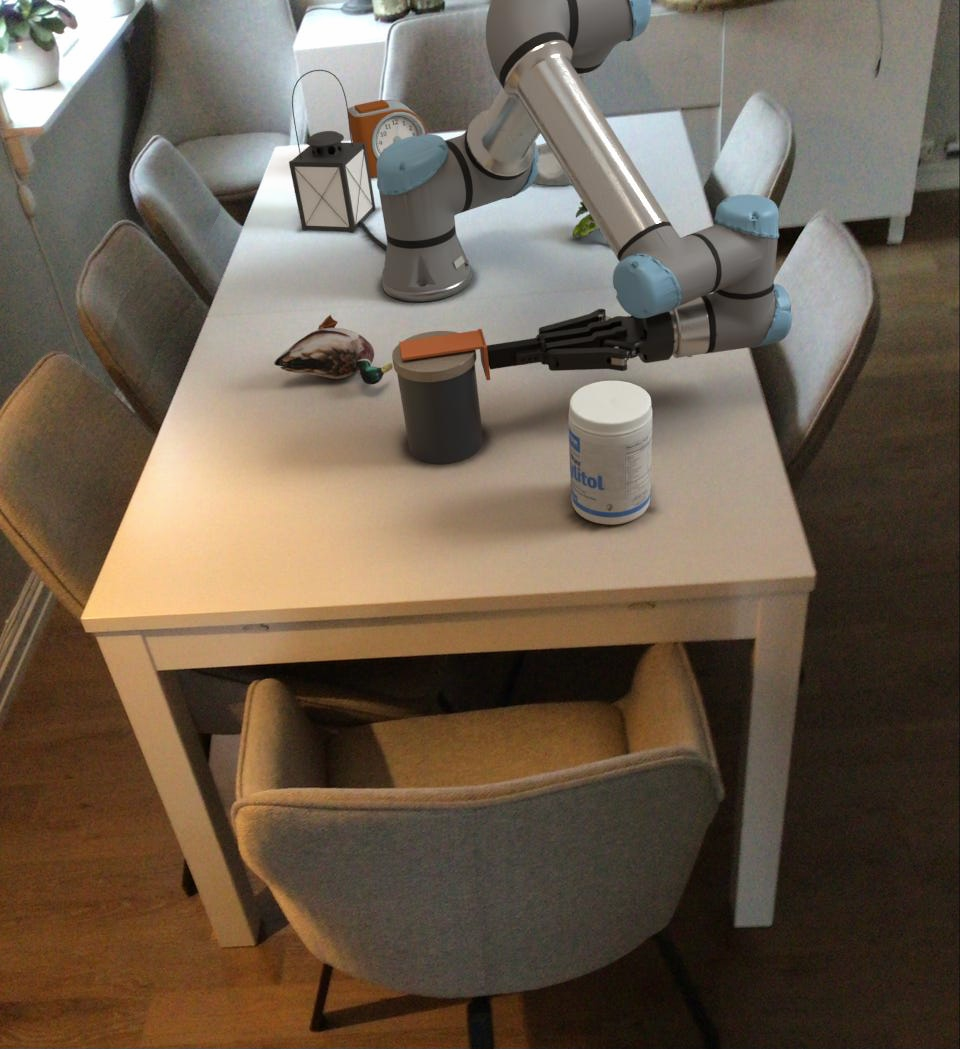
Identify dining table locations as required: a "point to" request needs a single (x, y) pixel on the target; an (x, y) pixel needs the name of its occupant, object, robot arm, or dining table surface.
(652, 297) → the robot arm
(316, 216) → the lantern
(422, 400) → the travel mug
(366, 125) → the alarm clock
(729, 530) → the dining table surface
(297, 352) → the decorative duck model
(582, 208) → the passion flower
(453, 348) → the lid slider
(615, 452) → the supplement tub
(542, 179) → the dish
